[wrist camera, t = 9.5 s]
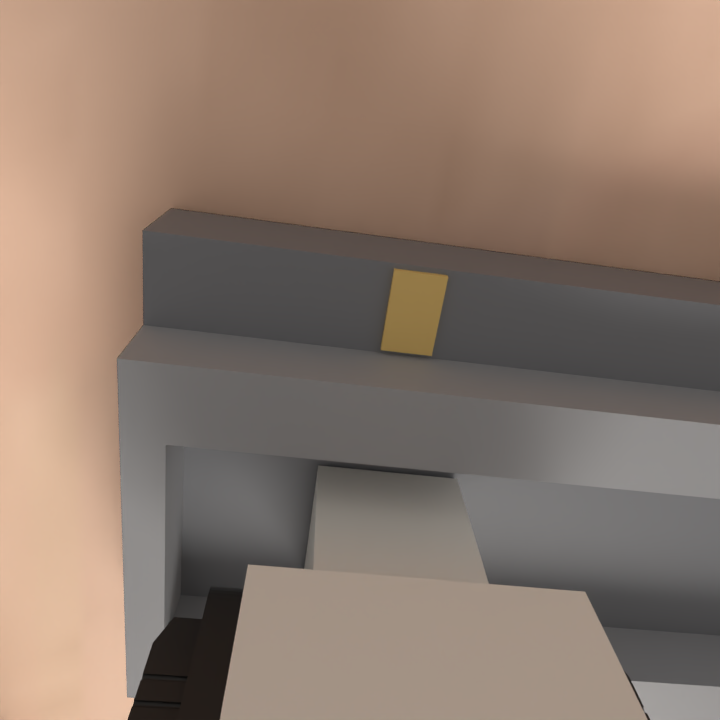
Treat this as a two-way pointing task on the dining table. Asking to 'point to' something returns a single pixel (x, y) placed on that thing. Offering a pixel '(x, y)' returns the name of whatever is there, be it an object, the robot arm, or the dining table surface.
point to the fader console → (427, 424)
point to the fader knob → (412, 622)
